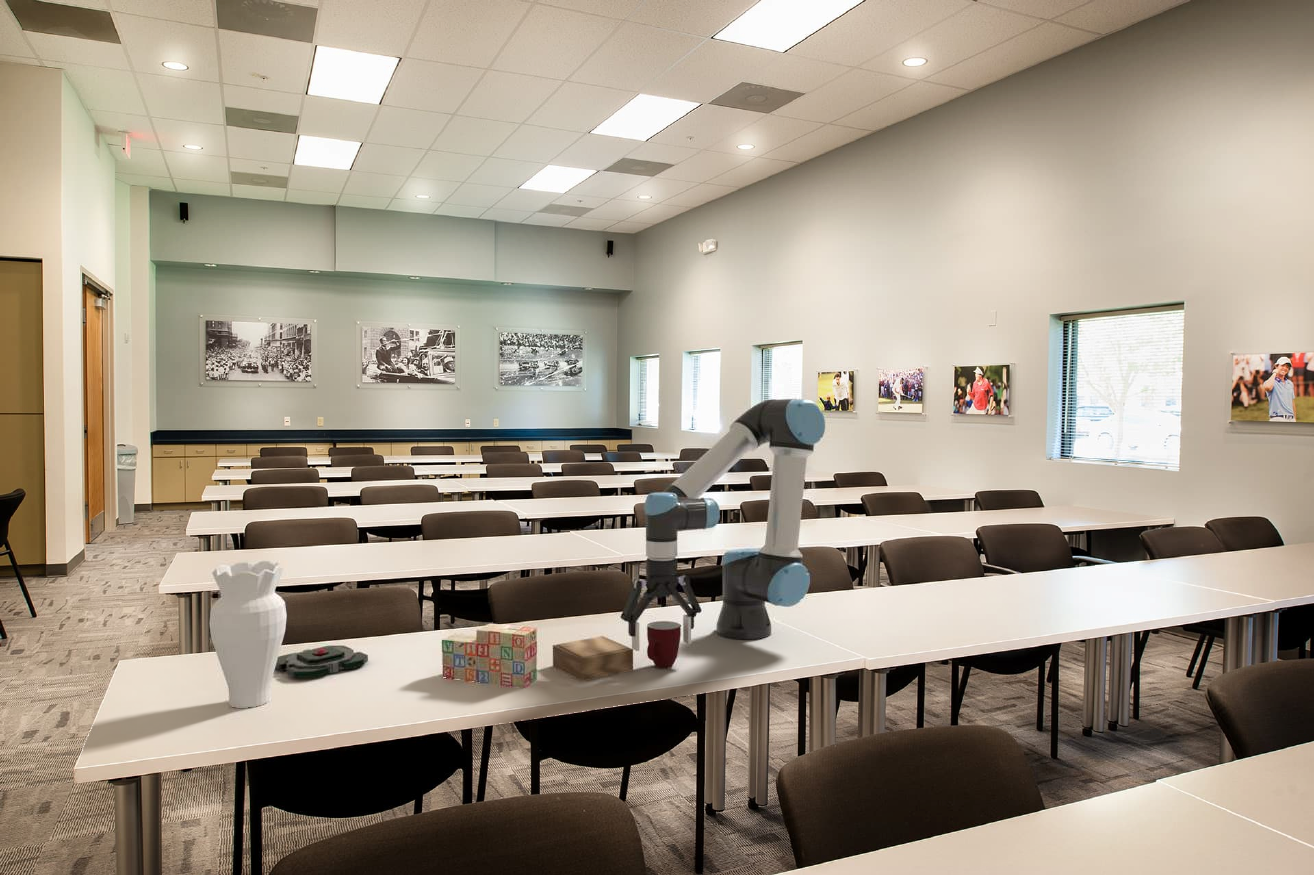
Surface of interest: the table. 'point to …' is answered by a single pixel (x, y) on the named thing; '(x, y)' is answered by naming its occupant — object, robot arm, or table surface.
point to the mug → (663, 643)
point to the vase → (248, 629)
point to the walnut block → (592, 658)
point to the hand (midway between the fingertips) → (661, 646)
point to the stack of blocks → (492, 655)
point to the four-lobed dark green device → (320, 661)
